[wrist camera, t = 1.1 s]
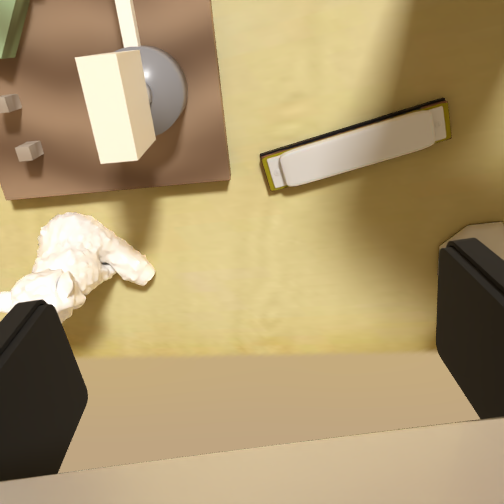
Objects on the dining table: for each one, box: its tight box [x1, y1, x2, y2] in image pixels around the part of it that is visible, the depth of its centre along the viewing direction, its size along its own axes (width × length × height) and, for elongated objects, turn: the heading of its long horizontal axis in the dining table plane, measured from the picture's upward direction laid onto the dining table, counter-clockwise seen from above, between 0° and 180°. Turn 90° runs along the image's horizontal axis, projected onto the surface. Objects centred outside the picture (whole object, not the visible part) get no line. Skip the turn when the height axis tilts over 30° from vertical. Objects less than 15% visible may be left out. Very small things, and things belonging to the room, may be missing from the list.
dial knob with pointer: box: [75, 0, 188, 164], centre depth 26 cm, size 13×6×10 cm, turn 5°
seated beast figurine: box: [0, 212, 155, 324], centre depth 34 cm, size 10×9×12 cm
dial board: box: [0, 0, 231, 200], centre depth 31 cm, size 19×18×4 cm
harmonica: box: [260, 98, 451, 191], centre depth 35 cm, size 15×3×2 cm, turn 107°
